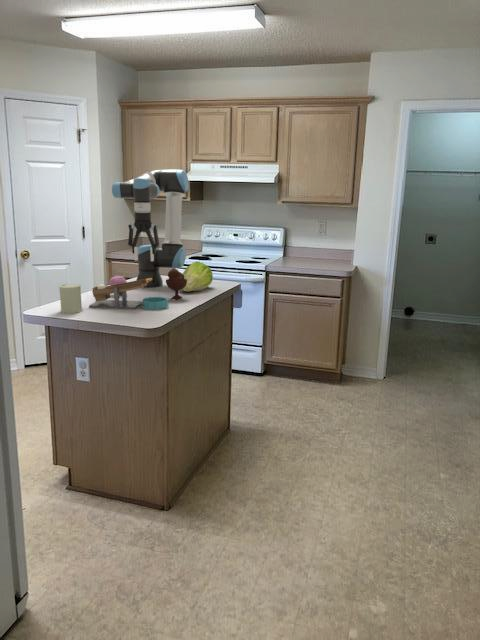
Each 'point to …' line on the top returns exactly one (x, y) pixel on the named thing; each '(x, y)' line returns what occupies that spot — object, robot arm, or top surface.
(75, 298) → the can
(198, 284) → the lettuce
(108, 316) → the top surface
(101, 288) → the ball
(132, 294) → the top surface
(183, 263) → the robot arm
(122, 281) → the cupcake
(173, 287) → the ice cream bowl
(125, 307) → the chute stand
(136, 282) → the chute
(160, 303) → the teal bowl
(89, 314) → the top surface
